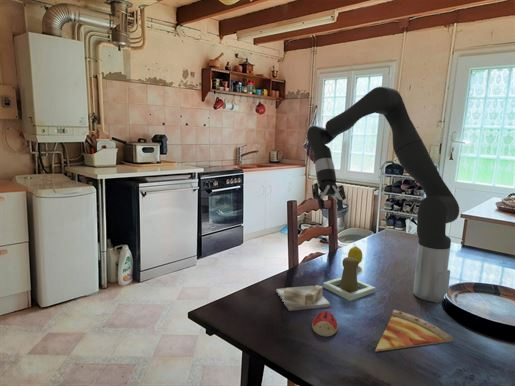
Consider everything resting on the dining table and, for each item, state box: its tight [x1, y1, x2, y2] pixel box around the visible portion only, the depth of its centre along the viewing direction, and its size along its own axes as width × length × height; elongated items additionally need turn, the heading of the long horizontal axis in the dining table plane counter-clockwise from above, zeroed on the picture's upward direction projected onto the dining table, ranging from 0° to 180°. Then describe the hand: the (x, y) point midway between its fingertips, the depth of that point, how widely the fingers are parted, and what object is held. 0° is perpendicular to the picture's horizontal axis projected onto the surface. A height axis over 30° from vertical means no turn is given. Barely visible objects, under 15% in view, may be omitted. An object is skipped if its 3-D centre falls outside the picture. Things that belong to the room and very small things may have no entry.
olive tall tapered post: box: [339, 256, 360, 293], centre depth 120 cm, size 6×6×11 cm
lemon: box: [347, 245, 363, 264], centre depth 142 cm, size 6×6×8 cm
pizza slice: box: [375, 309, 454, 352], centre depth 97 cm, size 16×22×2 cm
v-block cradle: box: [275, 284, 331, 312], centre depth 113 cm, size 13×13×4 cm
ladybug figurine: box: [311, 310, 339, 337], centre depth 97 cm, size 7×10×4 cm
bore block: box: [322, 276, 376, 302], centre depth 121 cm, size 12×12×2 cm
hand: (331, 209), depth 141 cm, fingers open, 8 cm apart
